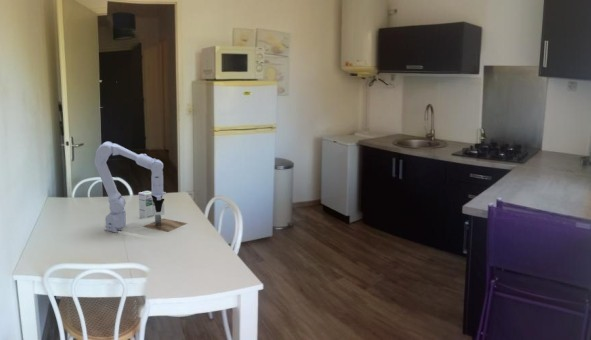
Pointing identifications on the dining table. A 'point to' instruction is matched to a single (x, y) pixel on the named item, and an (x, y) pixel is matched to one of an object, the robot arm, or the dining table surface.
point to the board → (166, 225)
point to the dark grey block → (157, 220)
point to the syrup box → (145, 204)
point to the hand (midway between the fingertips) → (157, 210)
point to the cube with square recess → (157, 212)
